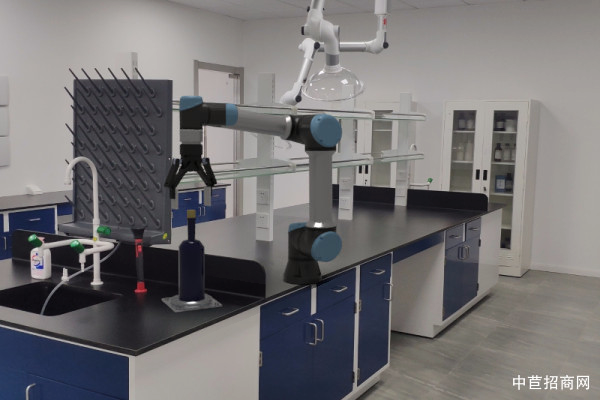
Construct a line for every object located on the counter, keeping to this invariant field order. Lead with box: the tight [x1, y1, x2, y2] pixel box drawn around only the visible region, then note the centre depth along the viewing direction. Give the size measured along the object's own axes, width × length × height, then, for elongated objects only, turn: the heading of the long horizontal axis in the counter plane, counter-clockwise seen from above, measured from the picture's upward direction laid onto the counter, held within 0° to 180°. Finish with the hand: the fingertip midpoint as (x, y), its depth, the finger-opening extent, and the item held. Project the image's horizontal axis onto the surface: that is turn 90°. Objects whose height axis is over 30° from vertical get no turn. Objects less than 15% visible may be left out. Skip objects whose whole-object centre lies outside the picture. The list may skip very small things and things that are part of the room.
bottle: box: [178, 209, 206, 302], centre depth 211 cm, size 9×9×30 cm
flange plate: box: [161, 293, 223, 313], centre depth 212 cm, size 16×16×2 cm
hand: (191, 207), depth 209 cm, fingers open, 13 cm apart
